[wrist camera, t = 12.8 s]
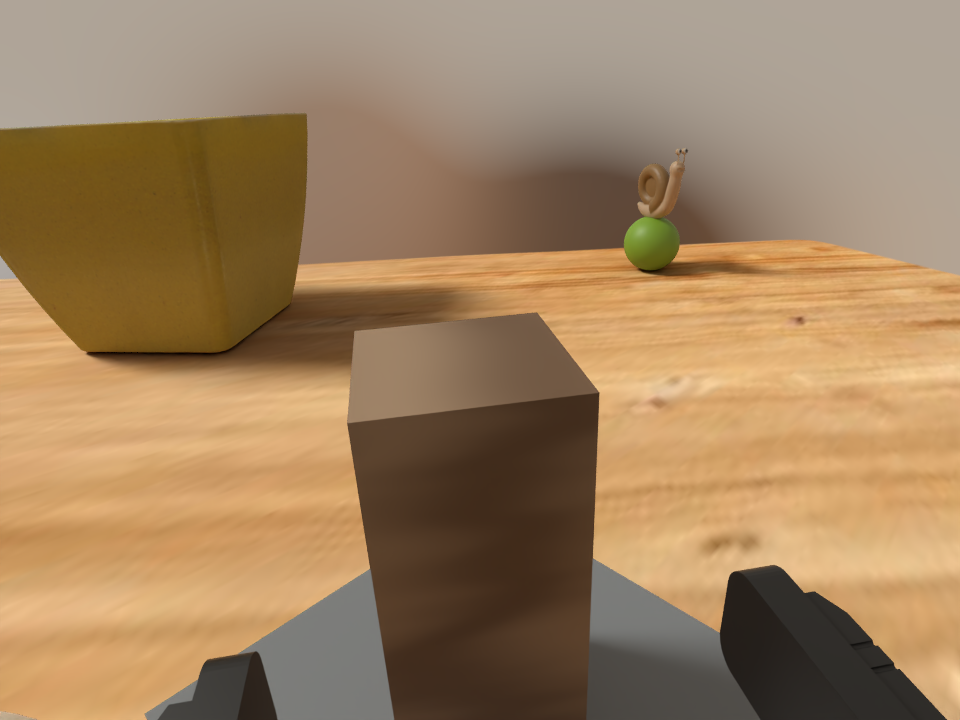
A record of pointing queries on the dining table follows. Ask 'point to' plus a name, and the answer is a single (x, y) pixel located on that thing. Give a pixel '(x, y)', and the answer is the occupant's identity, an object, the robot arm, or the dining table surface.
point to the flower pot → (156, 227)
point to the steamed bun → (13, 716)
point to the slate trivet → (611, 671)
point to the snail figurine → (655, 217)
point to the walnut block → (477, 515)
